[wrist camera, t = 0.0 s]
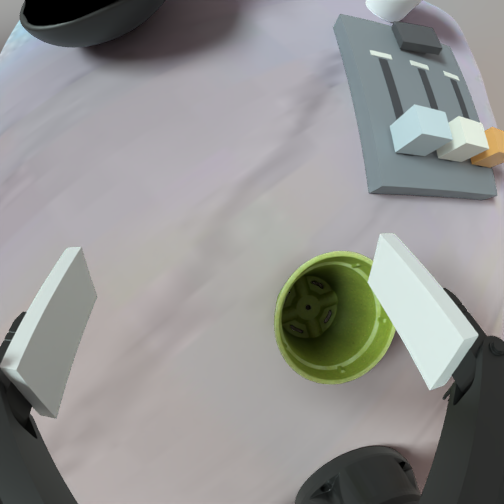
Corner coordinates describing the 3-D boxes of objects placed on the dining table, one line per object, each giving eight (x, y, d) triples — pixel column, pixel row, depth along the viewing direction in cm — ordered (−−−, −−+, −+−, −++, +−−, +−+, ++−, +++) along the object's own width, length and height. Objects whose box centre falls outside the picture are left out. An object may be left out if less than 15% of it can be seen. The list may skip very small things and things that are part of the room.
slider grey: (425, 156, 27) (453, 139, 22) (395, 152, 27) (422, 133, 22) (419, 131, 28) (445, 112, 23) (389, 126, 27) (414, 104, 22)
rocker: (438, 55, 28) (442, 48, 26) (399, 48, 28) (403, 41, 27) (429, 34, 28) (432, 27, 27) (391, 28, 29) (393, 21, 27)
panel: (482, 200, 32) (501, 194, 28) (368, 193, 30) (385, 183, 26) (440, 56, 33) (452, 44, 30) (333, 27, 31) (341, 10, 28)
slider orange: (490, 167, 29) (516, 156, 24) (471, 164, 28) (499, 151, 23) (484, 146, 29) (509, 133, 24) (466, 141, 28) (492, 126, 23)
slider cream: (461, 162, 28) (489, 148, 23) (438, 158, 28) (466, 142, 23) (455, 138, 28) (481, 123, 23) (432, 133, 28) (458, 115, 23)
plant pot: (366, 280, 29) (415, 282, 21) (328, 367, 28) (365, 398, 20) (283, 241, 29) (309, 227, 20) (242, 333, 28) (250, 358, 19)
